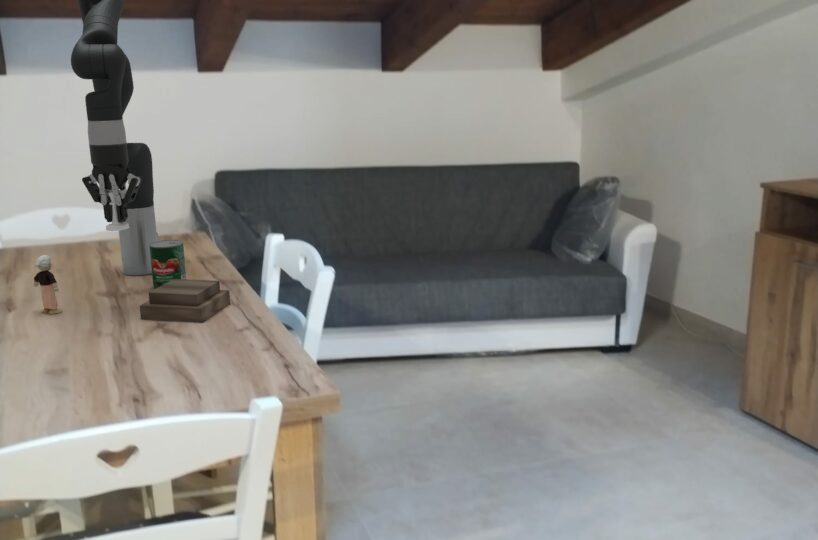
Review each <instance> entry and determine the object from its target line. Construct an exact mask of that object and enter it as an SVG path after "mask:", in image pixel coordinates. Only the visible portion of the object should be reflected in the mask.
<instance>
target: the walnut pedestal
mask: <svg viewBox="0 0 818 540" xmlns="http://www.w3.org/2000/svg"><path fill="white" fill-rule="evenodd" d="M220 284H221V283H220V280H211V279H209V280H207V279H187V278H186V279H173V280H171V281H169V282H167V283H165V284H163V285H162V286H160V287H158V288H156V289H152V290H151V291H148V299H149V300H147V301H145V302H143V303H141V304H139V313H140V320H147V321H148V320H149V321H152V320H153V321H167V322H169V321H170V322H183V323H184V322H188V323H203V322H205V321H206V320H208V319H209V318H211V317H212V316H214V315H215V314H217V313H218V312H220V311H221V310H223V309H224V308H225V307H227V306H228V305H229V304H231V295H230V289H221V285H220Z"/></svg>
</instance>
